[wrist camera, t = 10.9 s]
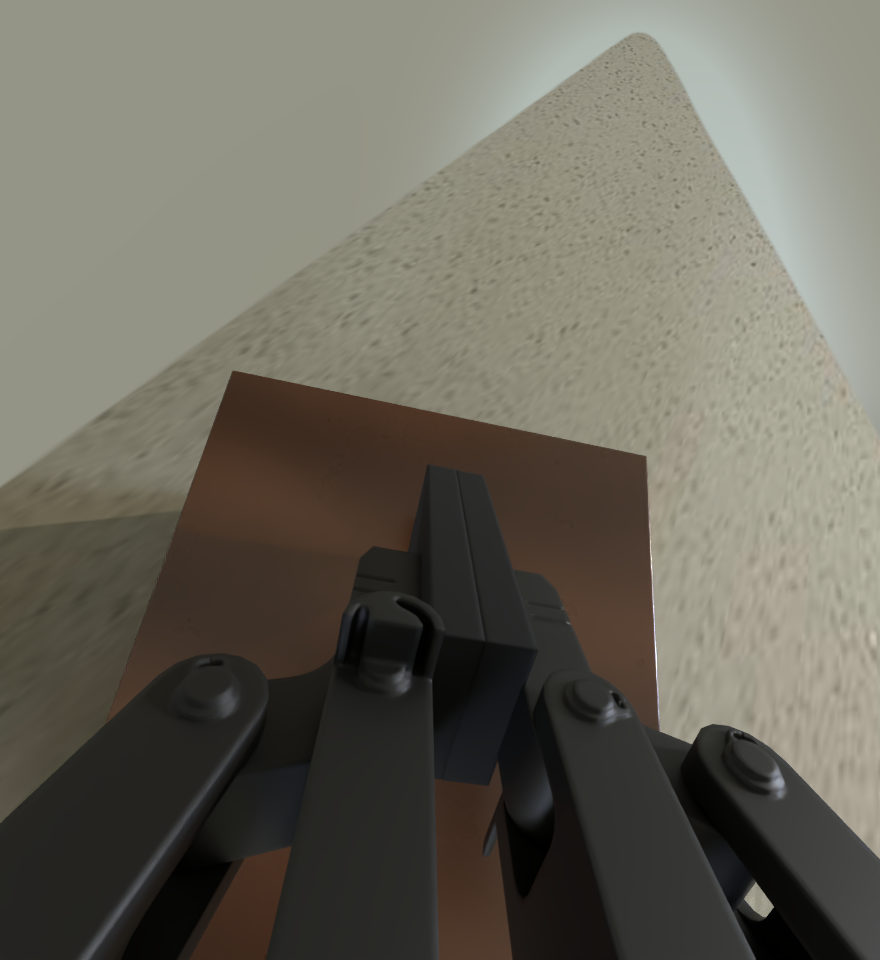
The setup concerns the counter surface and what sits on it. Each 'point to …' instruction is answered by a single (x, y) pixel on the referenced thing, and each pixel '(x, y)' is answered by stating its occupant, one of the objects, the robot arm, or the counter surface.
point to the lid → (331, 574)
